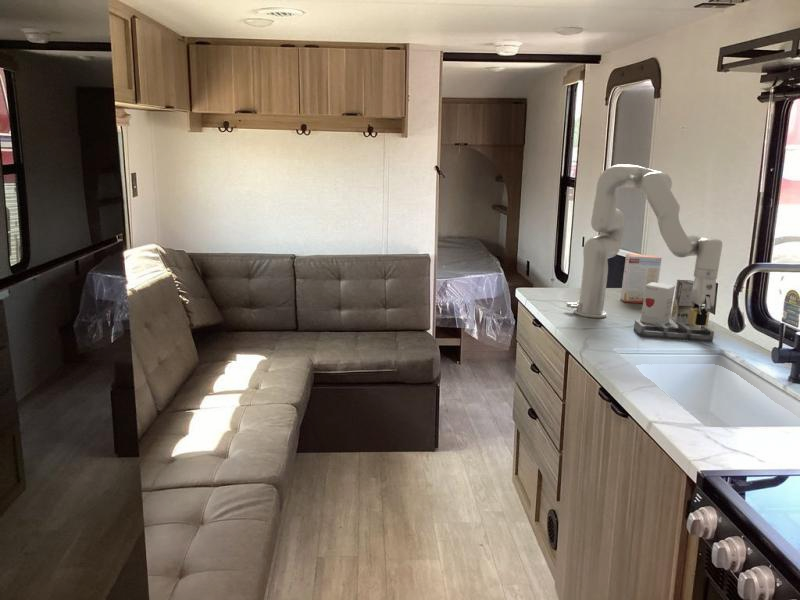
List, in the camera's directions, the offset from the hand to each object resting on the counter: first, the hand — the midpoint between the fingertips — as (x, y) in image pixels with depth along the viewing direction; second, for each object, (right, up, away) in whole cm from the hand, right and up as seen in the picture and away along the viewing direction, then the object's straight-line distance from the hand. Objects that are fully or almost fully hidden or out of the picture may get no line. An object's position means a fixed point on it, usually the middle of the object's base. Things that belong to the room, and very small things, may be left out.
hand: (697, 322), depth 231 cm
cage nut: (0, 0, 0) cm, 1 cm away
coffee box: (+5, -1, +25) cm, 26 cm away
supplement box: (-7, -1, +21) cm, 22 cm away
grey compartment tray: (-8, -5, +2) cm, 10 cm away
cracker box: (-1, +7, +56) cm, 56 cm away
